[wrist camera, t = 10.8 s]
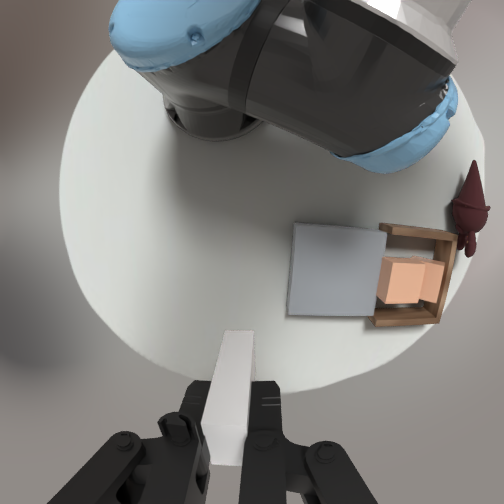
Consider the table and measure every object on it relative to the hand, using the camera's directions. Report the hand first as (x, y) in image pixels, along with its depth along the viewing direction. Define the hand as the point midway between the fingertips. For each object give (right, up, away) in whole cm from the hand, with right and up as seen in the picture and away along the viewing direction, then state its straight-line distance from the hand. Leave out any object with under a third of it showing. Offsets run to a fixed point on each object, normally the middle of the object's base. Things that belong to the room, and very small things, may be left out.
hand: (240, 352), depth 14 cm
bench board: (+12, +3, +24) cm, 27 cm away
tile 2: (+25, +1, +20) cm, 32 cm away
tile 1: (+21, +2, +21) cm, 30 cm away
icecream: (+34, +13, +21) cm, 42 cm away
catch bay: (+24, +2, +24) cm, 34 cm away
